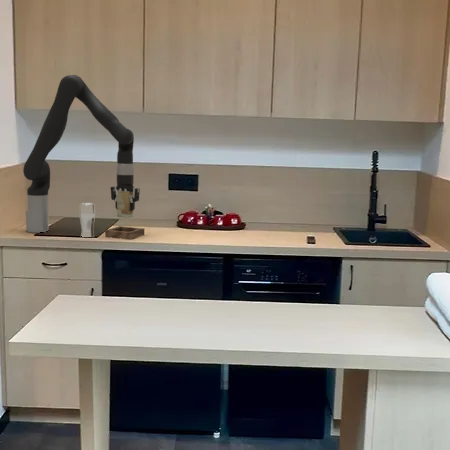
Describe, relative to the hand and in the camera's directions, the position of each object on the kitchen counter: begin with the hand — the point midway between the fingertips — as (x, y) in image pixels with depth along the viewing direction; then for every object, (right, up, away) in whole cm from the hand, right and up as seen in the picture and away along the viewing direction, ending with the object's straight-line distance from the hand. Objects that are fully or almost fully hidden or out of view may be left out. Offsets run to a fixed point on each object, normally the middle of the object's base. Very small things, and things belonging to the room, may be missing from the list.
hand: (125, 210), depth 282 cm
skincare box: (0, -3, +1) cm, 3 cm away
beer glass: (-17, -12, -2) cm, 21 cm away
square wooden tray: (0, -12, +2) cm, 12 cm away
